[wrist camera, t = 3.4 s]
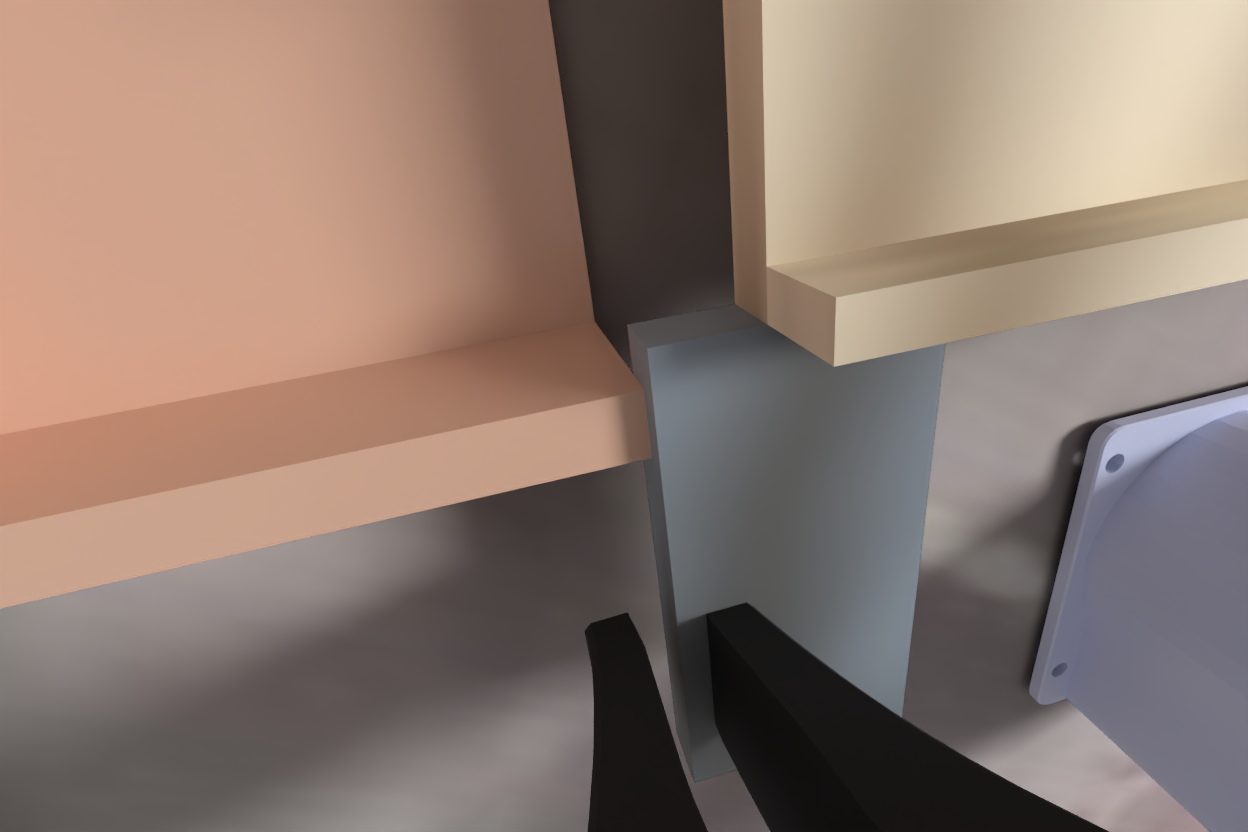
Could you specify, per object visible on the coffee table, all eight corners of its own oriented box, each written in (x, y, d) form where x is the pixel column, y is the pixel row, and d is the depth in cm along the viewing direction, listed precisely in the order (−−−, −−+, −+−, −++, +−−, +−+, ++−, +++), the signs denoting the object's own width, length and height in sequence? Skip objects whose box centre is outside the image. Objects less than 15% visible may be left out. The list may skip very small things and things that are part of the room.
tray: (599, 369, 11) (652, 457, 8) (-62, 504, 10) (-306, 678, 7) (470, -505, 7) (482, -1029, 4) (-832, -549, 5) (-2810, -1593, 2)
